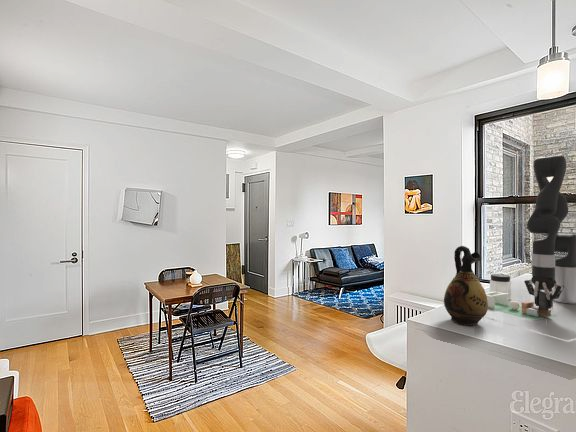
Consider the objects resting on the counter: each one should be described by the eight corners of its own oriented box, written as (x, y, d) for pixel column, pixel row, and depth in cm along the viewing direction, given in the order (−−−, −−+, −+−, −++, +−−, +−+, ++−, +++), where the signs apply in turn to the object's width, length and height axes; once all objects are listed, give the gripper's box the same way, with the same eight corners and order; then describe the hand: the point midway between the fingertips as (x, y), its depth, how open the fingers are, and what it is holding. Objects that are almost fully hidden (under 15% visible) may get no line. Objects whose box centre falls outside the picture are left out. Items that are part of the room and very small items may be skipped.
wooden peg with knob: (528, 311, 140) (528, 288, 140) (552, 317, 132) (552, 292, 132) (521, 312, 138) (521, 289, 138) (545, 318, 130) (545, 294, 130)
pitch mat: (497, 302, 158) (497, 300, 158) (557, 316, 135) (557, 315, 135) (475, 305, 151) (475, 304, 151) (534, 321, 129) (534, 320, 129)
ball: (512, 308, 146) (512, 299, 146) (521, 310, 142) (521, 301, 142) (506, 309, 144) (506, 300, 144) (516, 311, 141) (516, 302, 141)
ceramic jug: (498, 327, 122) (498, 248, 122) (461, 330, 120) (461, 249, 120) (466, 314, 139) (466, 244, 139) (433, 316, 136) (433, 244, 136)
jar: (505, 302, 158) (505, 277, 158) (487, 298, 165) (487, 275, 165) (513, 299, 163) (513, 275, 163) (495, 296, 170) (495, 273, 170)
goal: (495, 301, 157) (495, 290, 157) (509, 305, 151) (509, 293, 151) (479, 304, 152) (479, 292, 152) (493, 308, 146) (493, 295, 146)
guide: (536, 313, 138) (536, 306, 138) (546, 315, 135) (546, 308, 135) (526, 315, 136) (526, 308, 136) (537, 317, 132) (537, 310, 132)
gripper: (569, 267, 128) (569, 310, 128) (530, 262, 141) (530, 302, 141) (558, 268, 125) (558, 313, 125) (519, 263, 138) (519, 304, 138)
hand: (543, 307), depth 133 cm, fingers closed on wooden peg with knob, 3 cm apart
